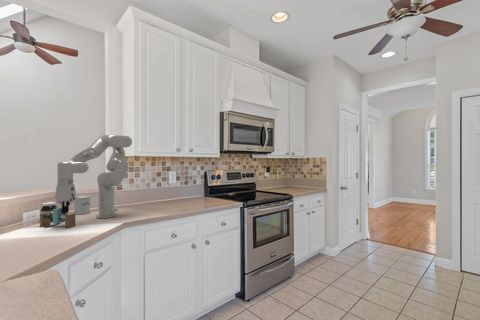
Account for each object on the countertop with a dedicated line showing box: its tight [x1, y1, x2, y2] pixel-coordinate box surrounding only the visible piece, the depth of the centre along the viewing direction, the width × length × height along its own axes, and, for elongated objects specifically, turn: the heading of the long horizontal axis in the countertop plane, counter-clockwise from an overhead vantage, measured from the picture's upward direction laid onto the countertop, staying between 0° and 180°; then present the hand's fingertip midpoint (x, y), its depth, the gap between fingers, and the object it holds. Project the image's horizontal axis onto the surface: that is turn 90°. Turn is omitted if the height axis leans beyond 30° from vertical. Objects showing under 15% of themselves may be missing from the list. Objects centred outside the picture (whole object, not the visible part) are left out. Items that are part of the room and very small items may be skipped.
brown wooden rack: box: [39, 212, 76, 229], centre depth 142 cm, size 20×9×8 cm, turn 80°
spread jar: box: [40, 201, 58, 222], centre depth 156 cm, size 12×11×12 cm
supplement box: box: [73, 195, 91, 216], centre depth 176 cm, size 7×7×13 cm
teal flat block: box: [52, 207, 69, 225], centre depth 142 cm, size 3×7×8 cm, turn 170°
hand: (65, 212), depth 141 cm, fingers closed
